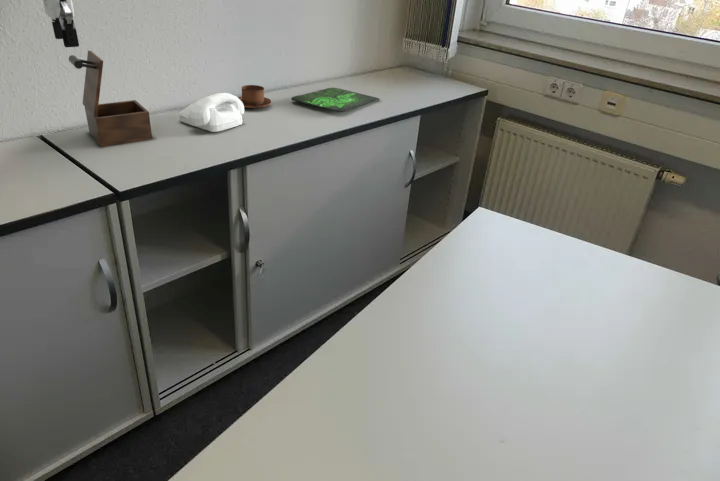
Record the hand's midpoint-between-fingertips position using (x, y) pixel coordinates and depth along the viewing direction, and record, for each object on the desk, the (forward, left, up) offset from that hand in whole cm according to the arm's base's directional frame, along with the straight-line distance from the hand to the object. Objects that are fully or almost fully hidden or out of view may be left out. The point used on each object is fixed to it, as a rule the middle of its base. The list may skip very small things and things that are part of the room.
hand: (67, 42), depth 133 cm
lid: (+4, +3, -11) cm, 11 cm away
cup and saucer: (+39, +39, -26) cm, 61 cm away
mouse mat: (+67, +50, -25) cm, 87 cm away
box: (+7, +5, -26) cm, 27 cm away
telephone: (+29, +20, -26) cm, 44 cm away
